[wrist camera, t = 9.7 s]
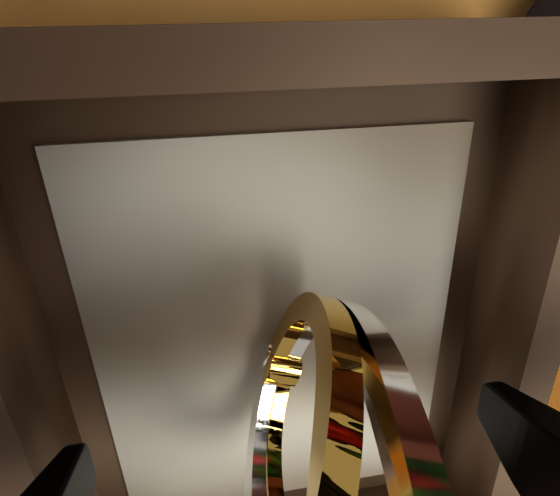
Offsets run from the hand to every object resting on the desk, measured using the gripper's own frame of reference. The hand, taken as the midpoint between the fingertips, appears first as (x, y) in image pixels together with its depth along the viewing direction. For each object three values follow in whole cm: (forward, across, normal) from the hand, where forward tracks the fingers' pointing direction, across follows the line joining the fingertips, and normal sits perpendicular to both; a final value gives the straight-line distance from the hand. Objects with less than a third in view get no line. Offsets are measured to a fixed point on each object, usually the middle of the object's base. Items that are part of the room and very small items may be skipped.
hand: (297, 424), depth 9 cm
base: (+6, 0, 0) cm, 6 cm away
